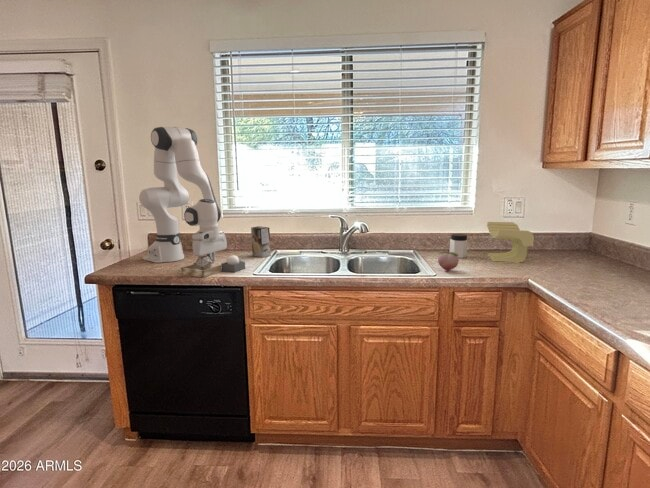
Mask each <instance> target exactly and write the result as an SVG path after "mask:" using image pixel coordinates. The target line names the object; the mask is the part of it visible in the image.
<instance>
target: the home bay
mask: <svg viewBox="0 0 650 488" xmlns="http://www.w3.org/2000/svg"><path fill="white" fill-rule="evenodd" d="M180 271H181V272H180V273H181V275H184V276H186V275H187V276H191V277H192V276H193V277H199V278H206V277H210V276H212V275H215V274H218V273H220V272H222V270H221V264H219V265H216V266H211V267H210V268H209V269H206V270H199V269H198V268H197V266H196V264H193V263H192V264H189V265H186V266H182V267H180Z"/></svg>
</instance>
